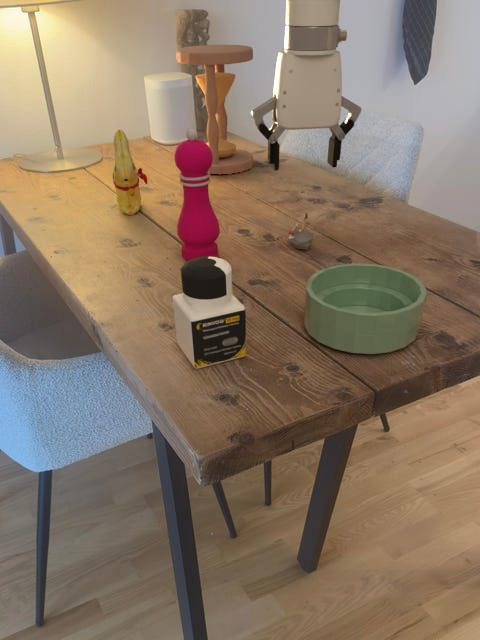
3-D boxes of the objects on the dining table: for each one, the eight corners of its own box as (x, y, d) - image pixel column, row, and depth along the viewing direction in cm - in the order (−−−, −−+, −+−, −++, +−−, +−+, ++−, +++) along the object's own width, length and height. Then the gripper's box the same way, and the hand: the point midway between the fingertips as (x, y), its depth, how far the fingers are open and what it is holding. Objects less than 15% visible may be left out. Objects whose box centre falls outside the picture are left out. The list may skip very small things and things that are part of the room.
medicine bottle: (195, 370, 70) (187, 280, 63) (176, 344, 75) (167, 257, 68) (247, 357, 72) (245, 268, 65) (225, 332, 77) (222, 247, 70)
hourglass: (201, 155, 152) (194, 44, 137) (262, 159, 148) (262, 44, 132) (173, 172, 140) (162, 52, 124) (239, 178, 135) (237, 53, 119)
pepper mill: (191, 267, 95) (181, 136, 82) (172, 253, 100) (160, 127, 87) (228, 257, 98) (224, 129, 85) (208, 244, 102) (200, 121, 90)
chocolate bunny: (118, 218, 114) (105, 137, 105) (117, 202, 123) (105, 125, 113) (152, 216, 115) (142, 135, 106) (149, 199, 124) (139, 123, 114)
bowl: (393, 297, 84) (399, 259, 81) (437, 350, 73) (446, 308, 69) (292, 307, 83) (294, 268, 79) (321, 363, 71) (324, 320, 67)
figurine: (312, 253, 98) (314, 218, 95) (287, 252, 99) (288, 217, 95) (313, 241, 102) (315, 208, 99) (288, 241, 103) (289, 207, 99)
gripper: (359, 36, 85) (347, 158, 96) (247, 39, 83) (247, 163, 94) (376, 41, 80) (361, 170, 90) (256, 45, 78) (255, 176, 88)
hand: (303, 166), depth 92 cm, fingers open, 9 cm apart
